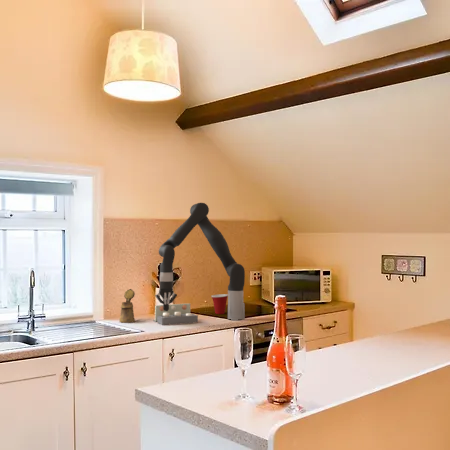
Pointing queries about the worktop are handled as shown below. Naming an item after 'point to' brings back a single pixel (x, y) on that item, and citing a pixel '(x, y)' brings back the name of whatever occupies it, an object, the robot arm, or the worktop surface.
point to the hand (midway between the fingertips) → (166, 310)
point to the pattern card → (171, 309)
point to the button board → (177, 319)
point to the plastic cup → (219, 303)
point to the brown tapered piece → (127, 308)
